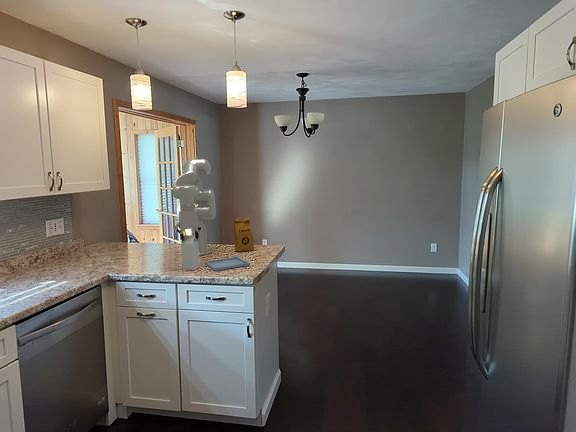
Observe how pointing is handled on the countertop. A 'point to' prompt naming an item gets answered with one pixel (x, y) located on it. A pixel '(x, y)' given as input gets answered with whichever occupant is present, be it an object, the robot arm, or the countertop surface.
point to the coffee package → (243, 235)
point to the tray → (226, 263)
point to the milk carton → (190, 253)
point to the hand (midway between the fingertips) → (189, 239)
